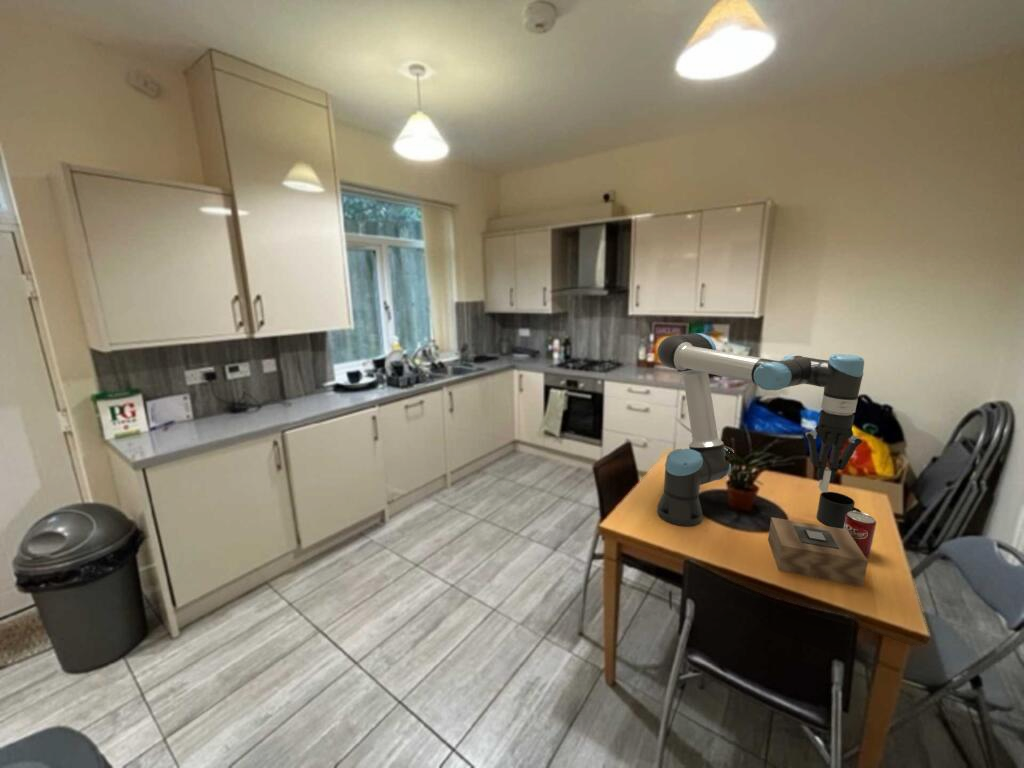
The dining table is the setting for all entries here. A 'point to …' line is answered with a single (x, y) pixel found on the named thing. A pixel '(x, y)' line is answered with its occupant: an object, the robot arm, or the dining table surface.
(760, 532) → the dining table surface
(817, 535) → the peg
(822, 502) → the mug
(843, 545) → the socket block
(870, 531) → the soda can
